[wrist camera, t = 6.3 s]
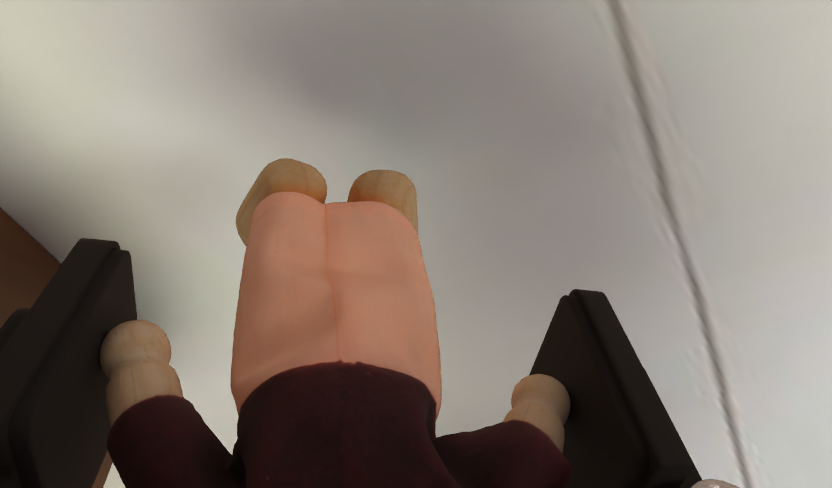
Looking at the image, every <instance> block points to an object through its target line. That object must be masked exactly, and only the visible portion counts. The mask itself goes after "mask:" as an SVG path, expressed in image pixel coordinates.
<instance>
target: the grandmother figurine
mask: <svg viewBox="0 0 832 488" xmlns="http://www.w3.org/2000/svg"><path fill="white" fill-rule="evenodd" d="M326 196H327V185H326V181H325V179H324V178H323V176H322V174H321V173H320V172H319V171H318V170H317V169H316V168H314V167H312V166H311V165H308V164H305V163H303V162H300V161H296V160H293V159H279V160H276V161H273V162H271V163H269V164H268V165H267V166H266V167H265V168H264V169H263V171H262V172H261V173H260V175H259V176H258V178H257V180H256V181H255V183H254V184H253V186H252V188H251V189H250V191H249V193H248V194H247V196H246V198H245V199H244V201H243V203H242V204H241V206H240V208H239V210H238V213H237V216H236V226H237V230H238V234H239V236H240V237H241V239H242V241H243V242H244V244H245V245H246V246H247V248H246V252H245V257H244V263H243V270H242V277H241V283H240V290H239V299H238V306H237V313H236V322H235V329H234V341H233V357H232V366H231V391H232V394H233V397H234V400H235V403H236V407H237V411H238V415H239V418H238V423H237V436H238V439H237V442H236V443H235V444H234V449H233V455H231V454H230V453H229V452H228V450H227V449H226V448H225V447H224V446H223V444H222V443H221V442H220V441H219V439H218V438H217V437H216V436H215V434H214V433H213V432H212V431H211V430H210V429H209V427H208V426H207V425H206V424H205V423H204V421H203V419H202V417H201V415H200V414H199V413H198V412H197V411H196V410H195V408H194V406H193V404H192V403H190V402H189V401H188V400H186V399H184V397H183V393H182V389H181V384H180V380H179V378H178V376H177V374H176V372H175V370H174V368H172V367H171V366H170V365H169V362H170V358H171V346H170V342H169V340H168V338H167V336H166V334H165V333H164V331H163V330H162V329H161V328H160V327H159V326H157V325H155V324H154V323H151V322H148V321H145V320H132V321H127V322H124V323H121V324H119V325H118V326H116V327H115V328H113V329H112V330H111V331H110V332H109V333H108V334H107V335H106V337H105V339H104V340H103V343H102V345H101V349H100V364H101V366H102V369H103V371H104V373H105V374H106V375H107V376H108V377H109V379H110V380H109V383H108V385H107V388H106V403H107V410H108V417H109V424H110V433H109V435H108V439H107V450H108V452H109V455H110V457H111V459H112V461H113V463H114V465H115V467H116V469H117V471H118V473H119V475H120V477H121V479H122V481H123V483H124V485H125V487H126V488H565V487H566V486H567V484H568V482H569V480H570V477H571V467H570V464H569V462H568V461H567V459H566V458H565V457H564V456H563V454H562V452H563V447H564V441H565V430H564V427H563V425H564V424H565V422H566V420H567V418H568V416H569V413H570V404H571V401H570V397H569V394H568V392H567V390H566V388H565V387H564V386H563V385H562V384H561V383H560V382H559V381H558V380H556V379H555V378H553V377H551V376H548V375H543V374H534V375H530V376H527V377H525V378H523V379H522V380H521V381H520V382H519V383H518V384H517V385H516V386H515V388H514V390H513V393H512V398H511V404H512V409H511V410H510V412H509V413H508V414H507V415H506V417H505V419H504V421H503V422H501V423H499V424H496V425H493V426H488V427H485V428H482V429H479V430H476V431H472V432H460V433H456V434H449V435H444V436H441V437H437V438H436V435H435V422H436V419H437V417H438V414H439V411H440V407H441V396H442V386H441V382H442V380H441V363H440V349H439V342H438V333H437V325H436V313H435V303H434V298H433V293H432V289H431V286H430V282H429V279H428V276H427V272H426V269H425V265H424V261H423V257H422V251H421V246H420V242H419V239H418V217H417V194H416V190H415V186H414V184H413V183H412V181H411V180H410V179H409V178H408V177H407V176H406V175H404V174H402V173H399V172H396V171H390V170H371V171H368V172H366V173H364V174H362V175H360V176H359V177H358V178H357V179H356V180H355V181H354V183H353V185H352V187H351V189H350V192H349V196H348V200H347V202H339V203H329V204H324V203H325V199H326Z"/></svg>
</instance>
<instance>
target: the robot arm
mask: <svg viewBox="0 0 832 488" xmlns="http://www.w3.org/2000/svg"><path fill="white" fill-rule="evenodd" d="M132 320H137V312H136V303H135V293H134V283H133V274H132V264H131V256H130V253H129V251H125V250H120V246H119V244H118V242H116V241H107V240H98V239H88V238H82V239H80V240H79V241H78V242H77V243H76V245H75V246H74V247H73V249H72V250H71V252H70V253H69V255H68V256H67V257H66V259H65V260H64V262H63V263H62V265H61V266H60V267H59V269H58V270H57V272H56V273H55V274H54V276H53V277H52V279H51V280H50V282H49V283H48V284H47V286H46V287H45V289H44V290H43V292H42V293H41V294H40V296H39V297H38V299H37V300H36V301H35V303H34V304H33V306H32V307H31V309H30V308H20V309H17V310H15V311H14V312H13V313H12V314H11V315H10V317H9V318H8V319H7V320H6V322H5V323H4V324H3V326H2V327H1V329H0V488H92V486H93V484H94V482H95V479H96V477H97V474H98V472H99V470H100V467H101V465H102V462H103V460H104V458H105V455H106V453H107V439H108V435H109V433H110V424H109V417H108V410H107V403H106V388H107V385H108V383H109V380H110V379H109V377H108V376H107V375H106V374H105V373H104V371H103V369H102V366H101V364H100V349H101V345H102V343H103V340H104V339H105V337H106V335H107V334H108V333H109V332H110V331H111V330H112V329H113V328H115V327H116V326H118V325H119V324H121V323H124V322H127V321H132ZM534 374H543V375H548V376H551V377H553V378H555V379H556V380H558V381H559V382H560V383H561V384H562V385H563V386H564V387H565V388H566V390H567V392H568V394H569V397H570V401H571V404H570V413H569V416H568V418H567V420H566V422H565V424H564V425H563V427H564V430H565V441H564V447H563V452H562V454H563V456H564V457H565V458H566V459H567V461H568V462H569V464H570V467H571V477H570V480H569V482H568V484H567V486H566V487H565V488H739V487H737V486H735V485H732V484H730V483H727V482H725V481H721V480H714V479H707V480H702V479H701V477H700V475H699V473H698V471H697V469H696V467H695V465H694V463H693V461H692V459H691V457H690V456H689V454H688V452H687V450H686V448H685V446H684V444H683V442H682V440H681V438H680V436H679V434H678V432H677V430H676V429H675V427H674V425H673V423H672V421H671V419H670V417H669V415H668V413H667V411H666V409H665V407H664V405H663V404H662V402H661V400H660V398H659V396H658V394H657V392H656V390H655V388H654V386H653V384H652V382H651V380H650V378H649V377H648V375H647V373H646V371H645V369H644V368H643V366H642V365H641V363H640V361H639V359H638V357H637V355H636V353H635V351H634V349H633V347H632V345H631V343H630V341H629V339H628V338H627V336H626V334H625V332H624V330H623V328H622V326H621V324H620V322H619V320H618V318H617V316H616V314H615V312H614V310H613V309H612V307H611V305H610V303H609V301H608V299H607V297H606V295H605V294H604V293H602V292H598V291H589V290H579V289H575V290H572V291H571V292H570V294H569V296H567V295H565V296H563V297H562V298H561V299H560V301H559V304H558V306H557V309H556V311H555V313H554V316H553V318H552V321H551V323H550V326H549V328H548V330H547V333H546V335H545V338H544V340H543V343H542V345H541V348H540V350H539V352H538V355H537V357H536V360H535V362H534V365H533V367H532V370H531V372H530V374H529V376H530V375H534Z"/></svg>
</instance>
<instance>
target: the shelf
mask: <svg viewBox="0 0 832 488" xmlns="http://www.w3.org/2000/svg"><path fill="white" fill-rule="evenodd" d="M60 266H61V264H60V263H59V262H58V261H57V260H56V259H55V258H54V257H52V256H51V255H50V254H49V253H48V252H47V251H46V250H45V249H44V248H43V247H42V246H41V245H40V244H39V243H37V242H36V241H35V240H34V239H33V238H32V237H31V236H30V235H29V234H28V233H27V232H26V231H25V230H24V229H22V228H21V227H20V226H19V225H18V224H17V223H16V222H15V221H14V220H13V219H12V218H11V217H10V216H8V215H7V214H6V213H5V212H4V211H3V210H2V209H1V208H0V329H1V327H2V326H3V324H4V323H5V322H6V320H7V319H8V318H9V317H10V315H11V314H12V313H13V312H14V311H15V310H17V309H20V308H30V309H31V307H32V306H33V304H34V303H35V301H36V300H37V299H38V297H39V296H40V294H41V293H42V292H43V290H44V289H45V287H46V286H47V284H48V283H49V282H50V280H51V279H52V277H53V276H54V274H55V273H56V272H57V270H58V269H59V267H60ZM112 463H113V461H112V459H111V457H110V455H109V452H108V450H107V453H106V455H105V458H104V460H103V462H102V465H101V467H100V470H99V472H98V474H97V477H96V479H95V482H94V484H93V486H92V488H103V486H104V484H105V481H106V478H107V476H108V473H109V471H110V468H111V465H112Z"/></svg>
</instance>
